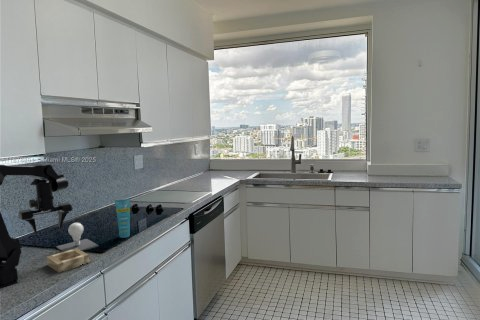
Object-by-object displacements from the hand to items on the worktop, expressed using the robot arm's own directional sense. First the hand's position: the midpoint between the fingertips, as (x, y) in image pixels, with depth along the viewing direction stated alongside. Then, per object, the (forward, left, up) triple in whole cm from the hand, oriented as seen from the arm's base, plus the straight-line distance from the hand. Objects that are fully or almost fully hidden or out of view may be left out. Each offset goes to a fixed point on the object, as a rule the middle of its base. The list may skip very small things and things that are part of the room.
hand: (48, 231), depth 144 cm
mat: (+14, +9, -13) cm, 21 cm away
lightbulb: (+14, +9, -13) cm, 21 cm away
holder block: (+4, -9, -13) cm, 16 cm away
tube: (+36, +6, -13) cm, 39 cm away
